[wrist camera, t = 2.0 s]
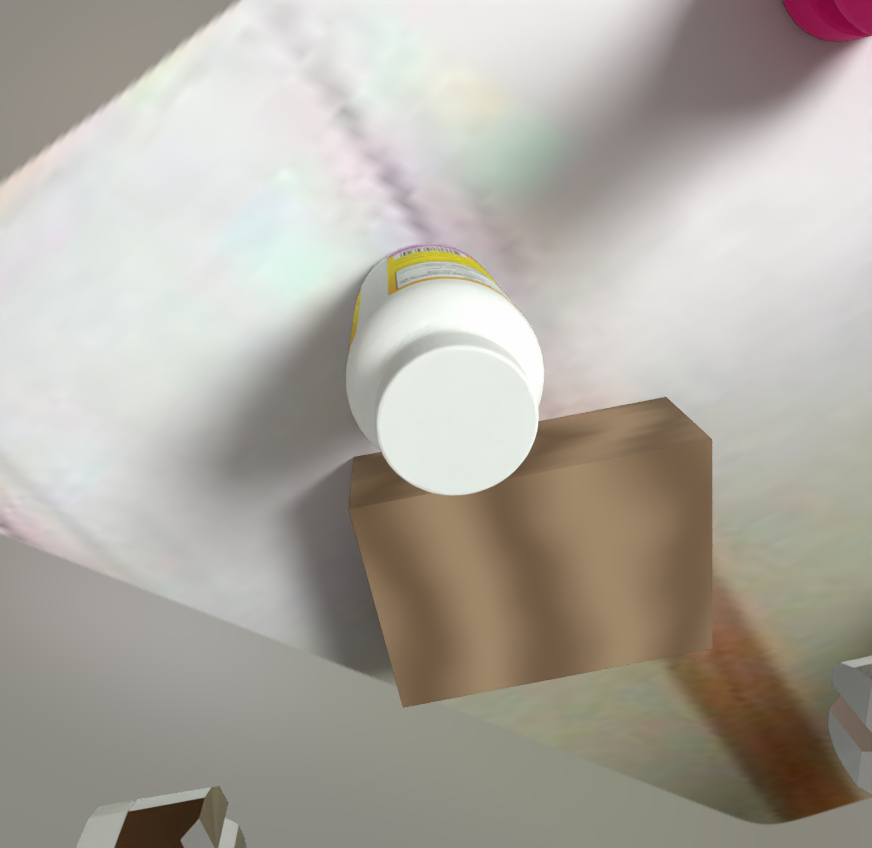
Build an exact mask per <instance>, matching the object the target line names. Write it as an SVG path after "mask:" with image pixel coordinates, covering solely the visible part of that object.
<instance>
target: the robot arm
mask: <svg viewBox="0 0 872 848" xmlns="http://www.w3.org/2000/svg"><path fill="white" fill-rule="evenodd" d="M832 685H833V687H834V688H835V689H836V690H837V691H838V693H839V694H840V695H841V696H840V697H839V698H838V699H837V701H836V702H835V703H834V704H833V705H832V706H831V708H830V709H829V722H828V729H829V732H830V736H831V739H832V743H833V746H834V749H835V751H836V753H837V755H838V757H839V759H840V761H841V763H842V765H843V767H844V768H845V770H846V771H847V772H848V774H849V775H850V777H851V778H852V779H853V781H854V782H855V784H856V785H857V786H858V787H860V788H861V789H863V790H865V791H867V792H868V793H870V794H872V656H868V657H863V658H858V659H854V660H849V661H844V662H840V663H839V664H838V665H837V666H836V668H835V669H834V670H833V678H832ZM227 806H228V802H227V799H226V798H225V796H224V794H223V792H222V790H221V788H220V787H219V786H218V787H210V788H204V789H198V790H192V791H186V792H180V793H174V794H168V795H162V796H156V797H150V798H144V799H138V800H133V801H128V802H122V803H116V804H111V805H106V806H100V807H99V808H98V809H97V810H96V811H95V812H94V813H93V815H92V816H91V817H90V818H89V820H88V821H87V823H86V825H85V828H84V830H83V833H82V835H81V837H80V840H79V842H78V844H77V846H76V848H246V843H245V839H244V836H243V833H242V831H241V829H240V827H239V825H238V824H236V823H234V822H232V821H230V820H229V819H227V818H225V815H226V811H227Z"/></svg>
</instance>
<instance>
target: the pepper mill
mask: <svg viewBox="0 0 872 848" xmlns="http://www.w3.org/2000/svg"><path fill="white" fill-rule="evenodd" d="M783 1H784V4H785V7H786V9H787V11H788V12H789V14H790V15H791V17H792V18H793V19H794V21H795V22H796V23H797V25H798V26H799V27H801V28H802V29H803V30H804V31H805V32H807V33H809V34H811V35H813V36H815V37H817V38H819V39H823V40H829V41H848V40H854V39H859V38H863V37H868V36H872V0H783Z"/></svg>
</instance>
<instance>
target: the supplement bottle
mask: <svg viewBox="0 0 872 848" xmlns="http://www.w3.org/2000/svg"><path fill="white" fill-rule="evenodd" d="M543 384H544V365H543V358H542V352H541V349H540V346H539V343H538V341H537V338H536V336H535V333H534V332H533V330H532V328H531V326H530V325H529V323H528V322H527V320H526V319H525V317H524V316H523V315H522V313H521V312H520V311H519V310H518V309H517V308H516V306H515V305H514V304H513V303H512V302H511V300H510V299H509V298H508V297H507V296H506V294H505V293H504V291H503V290H502V289H501V288H500V287H499V286H498V285H497V283H496V282H495V281H494V280H493V278H492V277H491V276H490V275H489V274H488V273H487V271H486V270H485V269H484V268H483V267H482V266H481V265H480V264H479V263H478V262H477V261H476V260H474V259H473V258H472V257H470V256H469V255H467V254H466V253H464V252H462V251H460V250H458V249H455V248H452V247H449V246H446V245H441V244H429V243H426V244H416V245H411V246H407V247H404V248H401V249H399V250H397V251H395V252H393V253H391V254H389V255H388V256H386V257H385V258H383V259H382V260H381V261H380V262H379V263H378V264H377V265H376V266H375V267H374V268H373V269H372V270H371V271H370V272H369V274H368V275H367V277H366V278H365V280H364V282H363V284H362V286H361V288H360V290H359V293H358V296H357V300H356V304H355V309H354V317H353V324H352V332H351V339H350V346H349V353H348V359H347V367H346V391H347V397H348V401H349V405H350V408H351V411H352V414H353V417H354V419H355V421H356V422H357V424H358V426H359V428H360V429H361V431H362V432H363V434H364V435H365V436H366V437H367V439H368V440H369V441H370V442H371V443H372V444H373V445H374V446H375V447H376V448H377V449H379V450H380V451H381V452H382V454H383V456H384V458H385V459H386V461H387V463H388V464H389V466H390V467H391V468H392V469H393V470H394V471H395V472H396V473H397V474H398V475H399V476H400V477H401V478H403V479H404V480H405V481H407V482H408V483H410V484H412V485H413V486H415V487H418V488H420V489H422V490H425V491H427V492H431V493H435V494H440V495H451V496H454V495H467V494H472V493H476V492H479V491H482V490H485V489H488V488H490V487H492V486H494V485H496V484H498V483H500V482H501V481H503V480H504V479H506V478H507V477H508V476H510V475H511V474H512V473H513V472H514V471H515V470H516V469H517V468H518V467H519V466H520V465H521V463H522V462H523V461H524V459H525V458H526V457H527V455H528V453H529V451H530V449H531V447H532V445H533V443H534V440H535V437H536V434H537V429H538V406H539V403H540V400H541V397H542V391H543Z"/></svg>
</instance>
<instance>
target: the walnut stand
mask: <svg viewBox="0 0 872 848" xmlns="http://www.w3.org/2000/svg"><path fill="white" fill-rule="evenodd" d="M349 512H350V516H351V519H352V523H353V527H354V530H355V534H356V538H357V541H358V545H359V549H360V552H361V556H362V560H363V563H364V567H365V571H366V574H367V578H368V582H369V585H370V589H371V592H372V596H373V600H374V603H375V607H376V611H377V614H378V618H379V622H380V625H381V629H382V633H383V636H384V640H385V644H386V647H387V651H388V655H389V658H390V662H391V666H392V669H393V673H394V676H395V680H396V684H397V687H398V691H399V695H400V698H401V702H402V706H403V708H404V707H408V706H414V705H419V704H425V703H430V702H435V701H440V700H445V699H451V698H456V697H461V696H466V695H472V694H477V693H482V692H487V691H493V690H498V689H503V688H508V687H514V686H519V685H524V684H529V683H535V682H540V681H545V680H550V679H555V678H561V677H566V676H571V675H576V674H582V673H587V672H592V671H597V670H603V669H608V668H613V667H618V666H624V665H629V664H634V663H639V662H645V661H650V660H655V659H660V658H665V657H671V656H676V655H681V654H686V653H692V652H697V651H702V650H707V649H712V439H711V438H710V437H709V436H708V435H707V434H706V433H705V432H704V431H703V430H701V429H700V428H699V427H698V426H697V425H696V424H695V423H694V422H693V421H692V420H691V419H689V418H688V417H687V416H686V415H685V414H684V413H683V412H682V411H681V410H680V409H679V408H677V407H676V406H675V405H674V404H673V403H672V402H671V401H670V400H669V399H668V398H667V397H664V398H659V399H654V400H648V401H643V402H638V403H633V404H628V405H623V406H617V407H612V408H607V409H602V410H597V411H591V412H586V413H581V414H576V415H571V416H566V417H560V418H555V419H550V420H545V421H540V422H538V429H537V434H536V437H535V440H534V443H533V445H532V447H531V449H530V451H529V453H528V455H527V457H526V458H525V459H524V461H523V462H522V463H521V465H520V466H519V467H518V468H517V469H516V470H515V471H514V472H513V473H512V474H511V475H510V476H508V477H507V478H506V479H504V480H503V481H501V482H500V483H498V484H496V485H494V486H492V487H490V488H488V489H485V490H482V491H479V492H476V493H472V494H467V495H454V496H451V495H440V494H435V493H431V492H427V491H425V490H422V489H420V488H418V487H415V486H413V485H412V484H410V483H408V482H407V481H405V480H404V479H403V478H401V477H400V476H399V475H398V474H397V473H396V472H395V471H394V470H393V469H392V468H391V467H390V466H389V464H388V463H387V461H386V459H385V458H384V456H383V454H382V452H379V453H374V454H369V455H364V456H358V457H354V459H353V470H352V480H351V491H350V501H349Z"/></svg>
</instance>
